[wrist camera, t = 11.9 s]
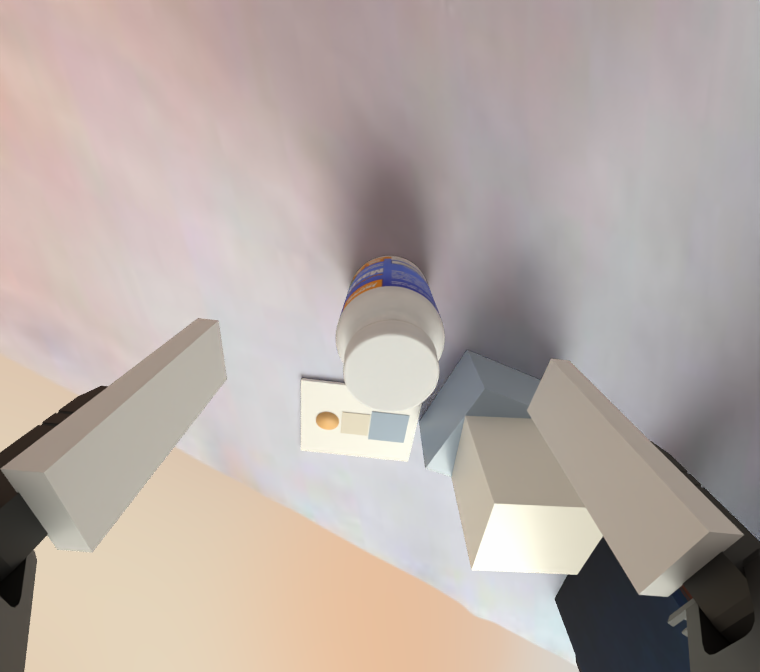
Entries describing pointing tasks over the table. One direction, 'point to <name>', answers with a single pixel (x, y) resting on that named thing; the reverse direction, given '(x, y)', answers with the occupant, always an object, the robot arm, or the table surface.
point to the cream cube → (518, 501)
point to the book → (620, 620)
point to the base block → (471, 405)
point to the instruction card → (352, 424)
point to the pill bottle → (390, 336)
